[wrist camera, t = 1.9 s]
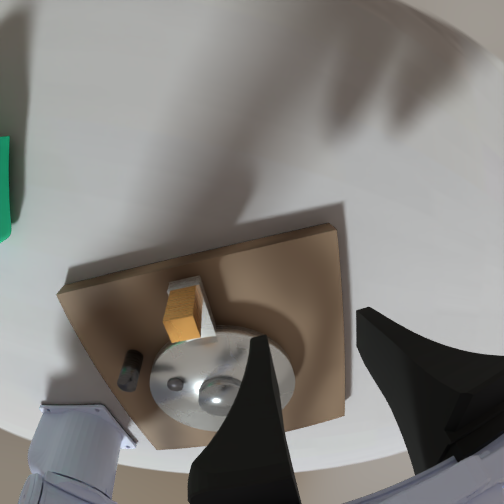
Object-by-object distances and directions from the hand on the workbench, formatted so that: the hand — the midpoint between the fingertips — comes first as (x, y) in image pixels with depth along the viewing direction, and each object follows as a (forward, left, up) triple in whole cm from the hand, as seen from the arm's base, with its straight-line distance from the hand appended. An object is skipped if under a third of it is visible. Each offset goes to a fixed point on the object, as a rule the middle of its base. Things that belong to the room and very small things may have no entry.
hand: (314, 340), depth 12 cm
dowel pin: (-12, -5, -8) cm, 15 cm away
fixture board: (-6, -9, -9) cm, 14 cm away
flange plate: (-6, -7, -8) cm, 12 cm away
